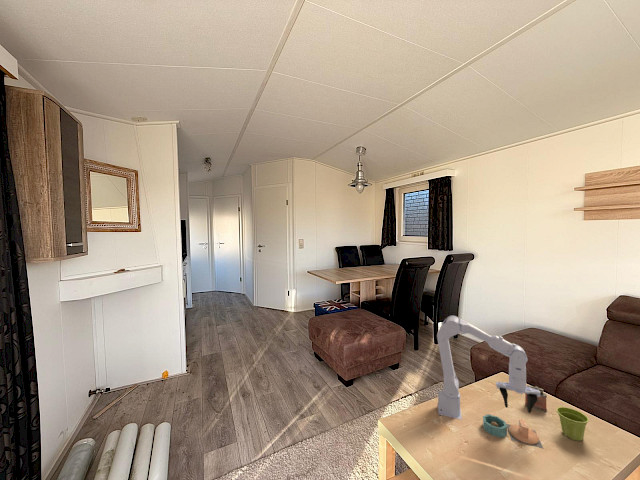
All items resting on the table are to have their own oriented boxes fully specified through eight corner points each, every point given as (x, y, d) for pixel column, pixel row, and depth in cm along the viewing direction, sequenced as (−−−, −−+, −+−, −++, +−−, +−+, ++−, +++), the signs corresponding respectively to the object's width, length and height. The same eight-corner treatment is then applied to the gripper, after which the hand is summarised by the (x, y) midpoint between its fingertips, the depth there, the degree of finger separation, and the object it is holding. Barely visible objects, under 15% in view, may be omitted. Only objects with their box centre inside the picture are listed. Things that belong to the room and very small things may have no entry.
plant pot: (563, 441, 103) (563, 419, 103) (552, 424, 112) (552, 404, 112) (594, 447, 100) (594, 424, 100) (580, 430, 109) (580, 409, 109)
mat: (511, 441, 103) (511, 440, 103) (506, 425, 112) (506, 423, 112) (543, 450, 99) (543, 448, 99) (535, 432, 108) (535, 430, 108)
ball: (491, 430, 108) (490, 423, 108) (489, 426, 111) (489, 419, 111) (499, 433, 107) (499, 425, 107) (498, 428, 110) (498, 421, 110)
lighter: (546, 408, 122) (546, 387, 122) (547, 413, 119) (547, 391, 119) (524, 403, 127) (524, 382, 127) (525, 407, 124) (525, 386, 124)
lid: (511, 439, 103) (511, 427, 103) (506, 423, 112) (506, 412, 112) (542, 447, 99) (542, 435, 99) (534, 430, 108) (534, 419, 108)
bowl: (484, 434, 107) (484, 424, 107) (482, 422, 114) (482, 412, 114) (508, 440, 104) (508, 430, 104) (504, 427, 111) (504, 418, 111)
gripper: (498, 377, 107) (498, 409, 108) (542, 385, 101) (542, 420, 101) (495, 369, 114) (495, 400, 114) (537, 376, 107) (537, 409, 108)
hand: (517, 408), depth 108 cm, fingers open, 7 cm apart
